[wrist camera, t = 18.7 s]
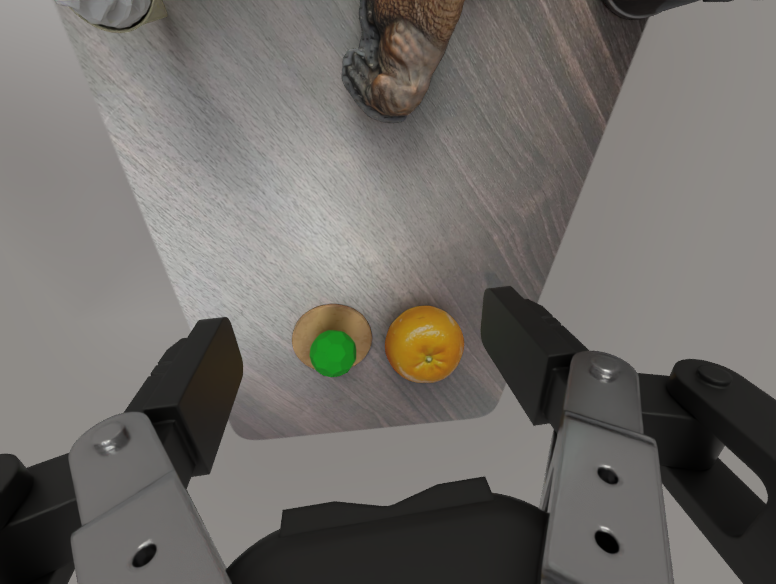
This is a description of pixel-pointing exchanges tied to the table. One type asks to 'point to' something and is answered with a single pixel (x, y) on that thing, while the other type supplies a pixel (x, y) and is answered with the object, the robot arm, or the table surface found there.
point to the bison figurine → (398, 54)
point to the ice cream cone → (117, 13)
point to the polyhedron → (333, 353)
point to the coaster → (331, 320)
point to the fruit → (424, 344)
